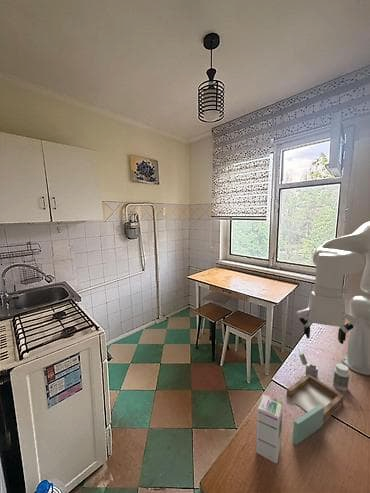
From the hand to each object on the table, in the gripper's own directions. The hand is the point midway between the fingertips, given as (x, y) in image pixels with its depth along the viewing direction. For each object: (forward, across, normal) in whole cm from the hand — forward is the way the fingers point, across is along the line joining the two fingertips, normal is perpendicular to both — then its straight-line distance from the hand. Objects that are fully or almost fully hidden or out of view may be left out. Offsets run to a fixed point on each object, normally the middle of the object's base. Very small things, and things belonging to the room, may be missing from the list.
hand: (323, 338), depth 73 cm
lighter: (+25, +1, -15) cm, 29 cm away
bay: (+25, +1, -1) cm, 25 cm away
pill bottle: (+25, -10, -12) cm, 29 cm away
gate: (+24, +5, +14) cm, 28 cm away
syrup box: (+25, +17, +22) cm, 37 cm away
